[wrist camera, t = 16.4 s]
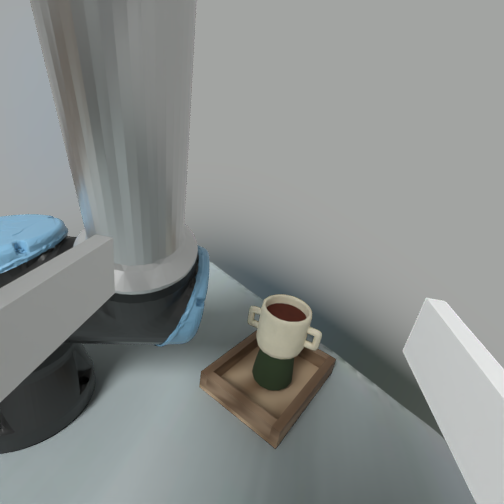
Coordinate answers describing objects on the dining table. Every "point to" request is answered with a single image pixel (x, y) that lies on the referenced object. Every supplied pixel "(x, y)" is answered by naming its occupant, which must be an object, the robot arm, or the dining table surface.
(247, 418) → the wooden tray
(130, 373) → the dining table surface
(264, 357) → the character mug
